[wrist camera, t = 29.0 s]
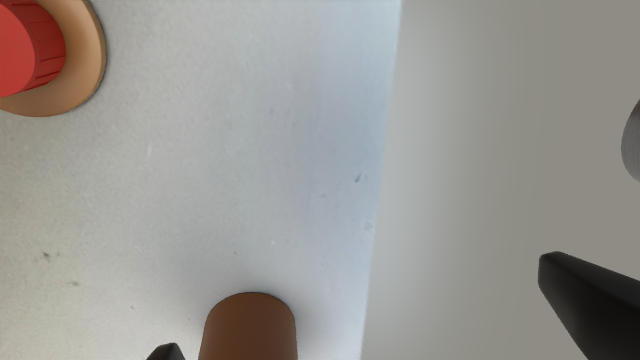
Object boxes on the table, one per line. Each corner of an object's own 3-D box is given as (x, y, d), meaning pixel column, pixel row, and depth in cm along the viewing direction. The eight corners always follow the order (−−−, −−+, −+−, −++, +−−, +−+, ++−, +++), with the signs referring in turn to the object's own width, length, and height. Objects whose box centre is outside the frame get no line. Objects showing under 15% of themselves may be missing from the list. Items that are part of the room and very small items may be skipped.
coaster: (64, -67, 16) (56, -69, 15) (131, 97, 19) (127, 99, 18) (-104, -32, 16) (-117, -33, 15) (-10, 128, 19) (-18, 131, 18)
